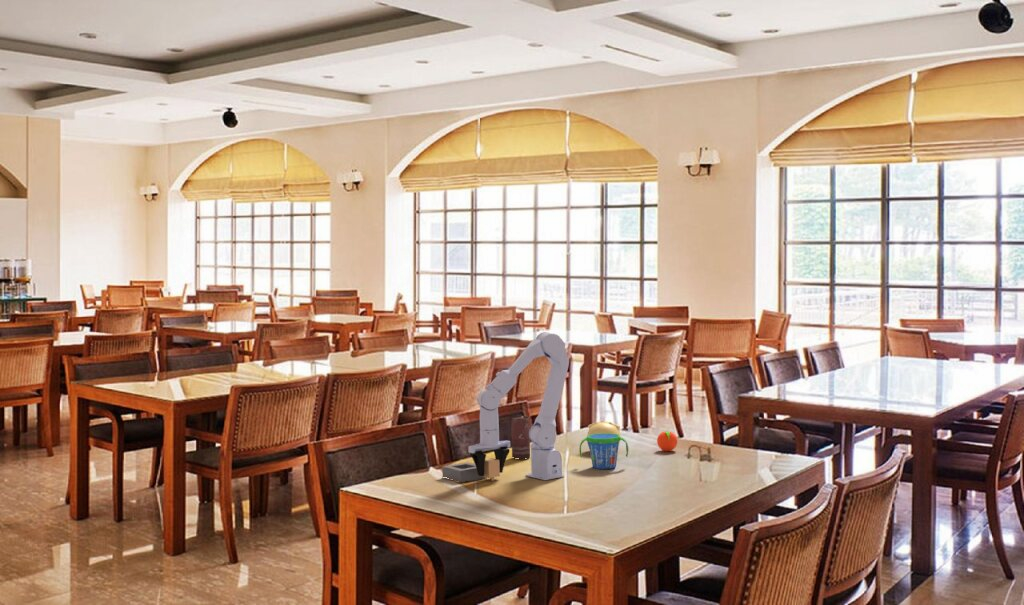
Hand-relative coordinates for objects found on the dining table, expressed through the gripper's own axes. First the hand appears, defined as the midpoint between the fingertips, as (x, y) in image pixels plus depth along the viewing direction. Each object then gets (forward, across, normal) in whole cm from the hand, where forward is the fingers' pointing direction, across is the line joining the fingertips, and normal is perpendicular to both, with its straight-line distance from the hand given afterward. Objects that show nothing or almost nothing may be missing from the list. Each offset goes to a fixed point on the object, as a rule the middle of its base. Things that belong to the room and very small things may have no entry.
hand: (490, 473), depth 300 cm
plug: (+2, 0, 0) cm, 2 cm away
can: (+2, -29, -21) cm, 36 cm away
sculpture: (+2, -57, -10) cm, 58 cm away
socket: (+2, +4, -8) cm, 9 cm away
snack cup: (+2, -38, +10) cm, 39 cm away
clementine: (+2, -73, +5) cm, 73 cm away
